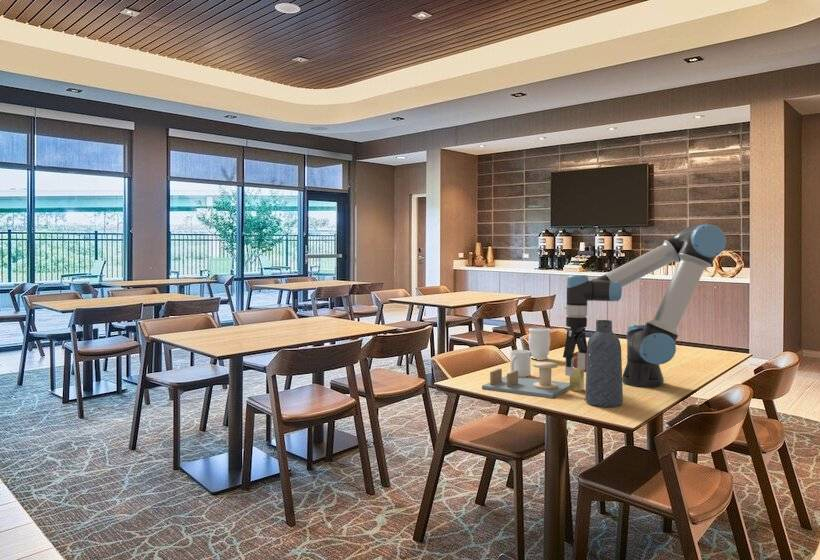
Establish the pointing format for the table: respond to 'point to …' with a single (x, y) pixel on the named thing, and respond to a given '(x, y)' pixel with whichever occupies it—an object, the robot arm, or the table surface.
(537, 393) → the board
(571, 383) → the beige upright block
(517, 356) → the mug
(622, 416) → the table surface
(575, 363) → the pastry
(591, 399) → the vase
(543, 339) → the jar
